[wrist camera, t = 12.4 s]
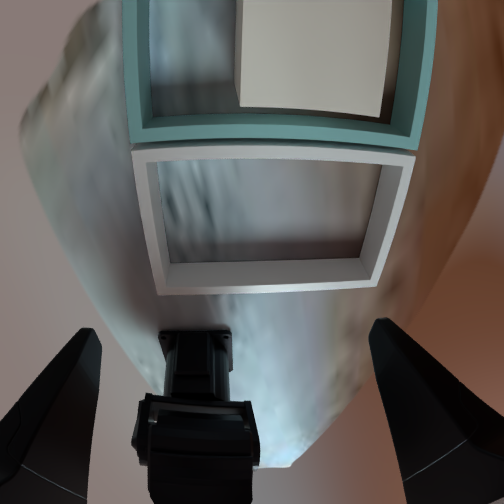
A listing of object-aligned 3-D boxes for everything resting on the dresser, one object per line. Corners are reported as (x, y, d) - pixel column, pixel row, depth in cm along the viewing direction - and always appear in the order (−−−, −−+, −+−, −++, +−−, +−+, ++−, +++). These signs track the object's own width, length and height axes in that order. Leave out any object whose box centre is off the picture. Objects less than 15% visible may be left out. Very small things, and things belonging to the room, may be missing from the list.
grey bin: (365, 264, 24) (376, 286, 22) (162, 270, 22) (157, 295, 20) (396, 142, 18) (415, 156, 16) (142, 136, 16) (131, 151, 14)
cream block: (324, 87, 16) (379, 117, 10) (234, 82, 15) (240, 106, 10) (330, 6, 12) (392, -9, 7) (236, -3, 12) (244, -33, 7)
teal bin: (397, 136, 17) (417, 150, 15) (141, 129, 16) (130, 143, 14) (414, -10, 11) (438, -13, 9) (137, -35, 10) (124, -45, 8)
